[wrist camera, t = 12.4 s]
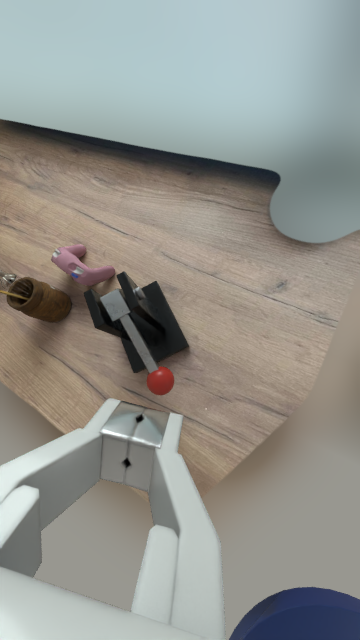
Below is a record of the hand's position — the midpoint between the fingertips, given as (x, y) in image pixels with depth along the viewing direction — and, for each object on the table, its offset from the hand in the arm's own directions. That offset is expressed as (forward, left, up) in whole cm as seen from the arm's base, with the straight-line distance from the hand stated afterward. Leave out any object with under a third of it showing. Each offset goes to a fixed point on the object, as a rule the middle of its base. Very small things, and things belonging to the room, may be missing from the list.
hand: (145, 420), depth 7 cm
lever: (+8, 0, -14) cm, 16 cm away
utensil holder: (+27, +9, -21) cm, 35 cm away
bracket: (+12, -1, -21) cm, 24 cm away
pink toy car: (+28, 0, -21) cm, 35 cm away
